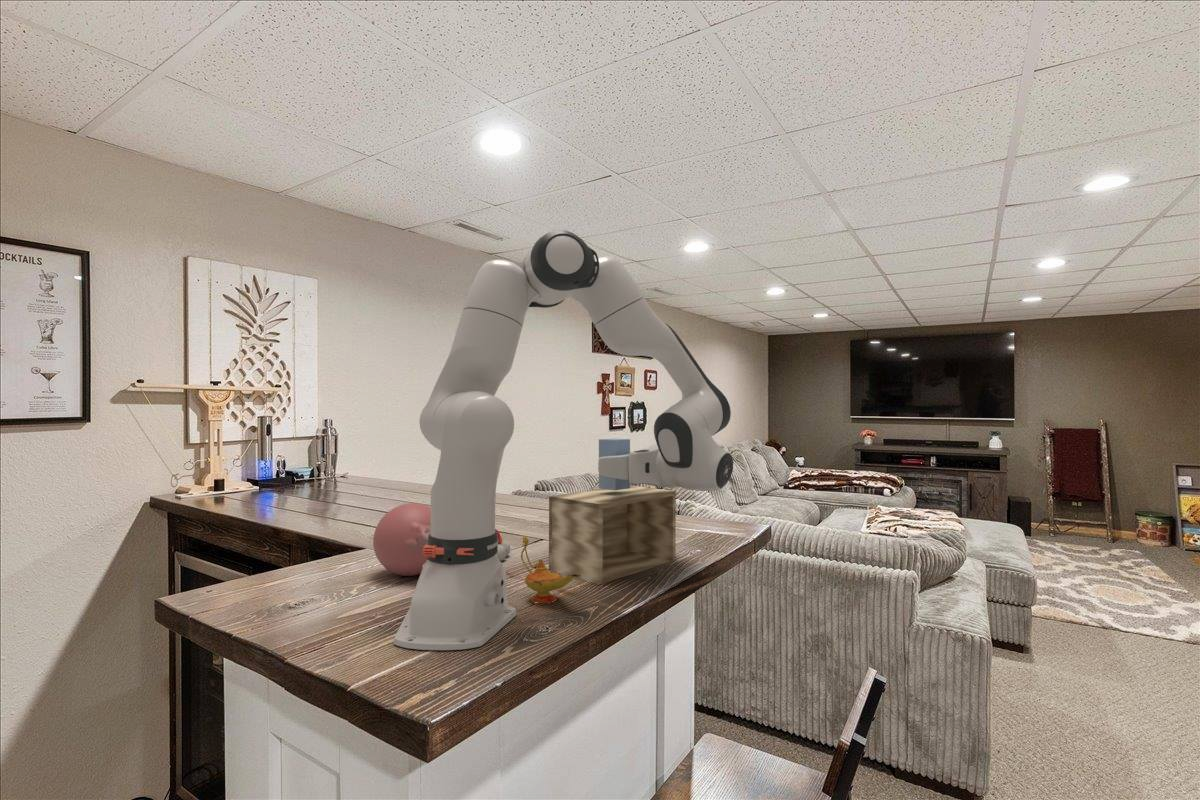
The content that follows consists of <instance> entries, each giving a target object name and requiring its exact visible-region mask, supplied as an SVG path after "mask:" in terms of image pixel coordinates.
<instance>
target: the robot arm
mask: <svg viewBox="0 0 1200 800" xmlns="http://www.w3.org/2000/svg"><path fill="white" fill-rule="evenodd" d="M533 244H534V245H533V247H531V249H530V251H528V253H527V254H526V255H525V257H524V259H523V260H522V261H520V262H512V261H509V260H506V259H492V260H488V261H486V262H485V263H483V265H482V266H480V268H479V270H478V272H477V273H476V275H475V277H474V280H473V281H472V283H471V286H470V288H469V290H468V292H467V296H466V298H465V301H464V304H463V307H462V311H461V314H460V317H459V322H458V324H457V328H456V330H455V335H454V338H453V341H452V344H451V348H450V351H449V354H448V356H447V358H446V360H445V363H444V365H443V367H442V369H441V371H440V374H439V376H438V378H437V380H436V382H435V385H434V386H433V389H432V392H431V393H430V396H429V398H428V401H427V402H426V404H425V406H424V407H423V408H422V410H421V412H420V414H419V415H420V416H419V429H420V431H421V434H422V436H423V437H424V439H426V441H428V443H429V444H430V445H431V446H433V447H434V448H436V449H437V450H440V455H439V463H438V467H437V471H436V476H435V480H434V483H433V484H432V487H431V489H430V507H431V532H430V534H429V536H428V542H427V545H425V546H424V547H423V548H424V549H423V557H424V558H426V559H427V561H426V563H425V564H424V565H423V568H422V571H421V574H419V577H418V580H417V583H416V584H415V585H416V586H415V587H414V591H413V594H412V597H411V601H410V607H409V609H407V610H408V611H407V612H406V614H405V616H404V618H403V620H402V623H400V626H399V628H398V629H397V632H396V633H395V635H394V637H393V644H394V645H396V646H398V647H401V648H405V649H410V650H411V649H413V650H420V651H421V650H422V651H457V650H459V651H460V650H468V649H474V648H479V647H482V646H483V645H484V644H486V643H487V642H488V641H489V640H491V638H493V637H494V636H495V635H496V634H497V633H499V631H501V629H503V628H504V627H505V626H506V625H507V624H508V623H510V621H512V620H513V618H515V617H516V616H517V609H516V608H515V607H513V606H511V605H508V589H507V588H508V587H507V585H508V583H507V568H506V566H505V565H504V564H503V563H502V561H499V559H498V557H497V555H496V553H497V552H498V538H497V532H496V531H495V529H496V493H497V492H496V491H497V483H498V478H499V473H500V468H501V464H502V459H503V456H504V453H505V452H504V451H505V448H506V446H508V443H510V441H511V439H512V437H513V434H514V430H515V419H514V414H513V412H512V410H511V408H510V406H508V404H507V403H506V402H505V401H503V400H502V399H501V398H499V397H497V396H496V394H497V391H498V390H499V387H500V385H502V382H503V381H504V379H505V377H506V376H507V375H508V374H509V372H510V371H511V369H512V367H513V363H514V359H515V356H516V353H517V348H518V345H519V341H520V336H521V333H522V331H523V327H524V326H523V325H524V322H525V318H526V317H525V316H526V315H527V311H528V309H529V308H539V309H540V308H541V309H542V308H544V309H545V308H552V307H555V306H558V305H560V304H562V303H563V302H564V301H565V300H566V299H568V298H569V297H570V298H571V299H574V301H577V302H578V303H579V304H581V306H582V307H584V309H585V311H587V313H588V316H589V317H590V320H591V321H592V323H593V325H594V327H595V329H596V331H597V332H598V335H599V337H600V338H601V340H602V342H603V343H604V344H605V345H606V346H607V347H608V348H609V349H610V351H613V353H614V352H615V353H617V354H619V355H622V356H629V357H639V356H642V357H648V358H649V357H650V358H652V359H655V360H656V361H658V362H659V363H660V364H661V365H662V366H663V368H664V369H665V370H666V371H667V373H668V375H669V376H670V377H671V378H672V380H673V381H674V383H675V385H676V386H677V387H678V389H679V390H680V393H681V397H682V398H681V399H680V400H679V401H677V402H676V403H675V404H672V405H671V406H670V407H669V408H668V409H666V410H665V411H663V412H662V413H661V414H660V415H658V416H657V418H656V419H655V420H654V425H653V435H654V440H655V443H653V444H651V445H649V446H648V447H645V448H642V449H639V450H634V451H630V453H629V454H626V455H617V456H605V457H600V458H599V457H598V463H597V464H598V467H597V470H598V475H599V474H600V475H602V476H606V477H611V478H616V479H622V480H629V483H630V485H631V484H632V485H647V486H652V487H661V488H669V489H670V488H671V489H674V488H682V489H684V490H688V491H695V492H697V491H698V492H714V491H720V490H722V489H723V488H724V487H725V486H726V485H727V484H728V483H729V481H730V479H731V478H732V473H733V471H734V459H733V455H732V454H731V453H730V452H729V451H726V450H725V449H723V448H722V447H721V446H720V445H719V444H718V443H717V442H716V441H715V439H714V438H713V436H714V435H716V434H718V433H719V432H720V431H722V430H724V429H725V428H726V427H727V426H728V424H729V422H730V420H731V415H732V411H731V410H732V409H731V406H730V402H728V399H727V397H726V396H725V394H724V393H723V392H722V391H721V390H720V389H719V388H718V387H717V386H716V385H715V384H714V383H713V382H712V381H711V380H710V378H709V377H707V375H706V374H705V371H703V369H702V368H701V366H700V365H699V363H698V362H697V360H696V359H695V358H694V356H693V354H692V353H691V351H690V350H689V349H688V348H687V346H686V344H685V343H684V342H683V340H682V339H681V337H680V336H679V335H678V334H677V332H676V331H675V330H674V329H673V328H672V327H671V326H670V325H669V324H668V323H666V322H664V321H663V320H662V319H660V317H658V315H657V314H656V313H655V312H654V310H653V309H652V308H651V306H650V305H649V303H648V301H647V300H646V297H645V296H644V294H643V293H642V291H641V289H640V287H639V286H638V285H637V283H636V281H635V280H634V279H633V277H632V275H631V274H630V272H629V271H628V270H627V268H626V267H625V266H624V265H623V264H622V263H621V261H620V260H619V259H617V258H616V257H614V256H609V255H604V256H598V253H597V252H596V251H595V250H594V249H593V248H591V247H590V246H588V245H587V244H586V242H585V241H584V240H583V239H582V238H581V237H579V236H578V235H577V234H575V233H573V232H571V231H568V230H565V229H557V230H552V231H549V232H547V233H546V234H543V235H542V236H541V237H540V238H538V240H536V242H535V243H533ZM594 256H595V257H594Z"/></svg>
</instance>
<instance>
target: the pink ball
mask: <svg viewBox="0 0 1200 800" xmlns="http://www.w3.org/2000/svg"><path fill="white" fill-rule="evenodd" d="M430 532H431V506H428V505H426V504H422V503H417V502H408V503H404V504H401V505H397V506H395V507H393V508H392V509H391V510H390V509H389V511H388V512H387V513H385V514H384V515H383V517H381V518H380V520H379V522H378V523H377V525H376V527H375V531H374V533H373V539H372V540H373V541H372V542H373V544H372V545H373V551H374V554H375V556H376V558H377V560H378V562H379V563H380V564H381V565H382V566H383V568H385V569H386V570H387V571H389V572H391V573H393V574H395V575H399V576H403V577H412V576H418V575H419V576H420V574H421V571H422V568H423V565H424V564H425V563H426V561H427V559H426V558H424V557H423V549H424V548H423V547H424V546H425V545H427V542H428V536H429V534H430Z"/></svg>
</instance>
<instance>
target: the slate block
mask: <svg viewBox="0 0 1200 800" xmlns="http://www.w3.org/2000/svg"><path fill="white" fill-rule="evenodd" d="M630 452H631V439H629V438H602V439H598V459H599V458H600V457H605V456H617V455H626V454H629V453H630ZM630 486H631V483H629V480H622V479H616V478H611V477H606V476H602V475H600V474H599V473H598V489H608V490H621V489H628V488H630Z"/></svg>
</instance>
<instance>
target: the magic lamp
mask: <svg viewBox="0 0 1200 800" xmlns="http://www.w3.org/2000/svg"><path fill="white" fill-rule="evenodd" d="M529 542H530V541H529V538H528V537H527V536H525V535H523V537H522V547H523V549H522V551H521V553H520V560H521V561H522V563H523V565H524V566H525V568H526V569H527V571H528V572H529V574H527V575H526V576H525V578H524V582H525V584H526V586H527V587H528V589H531V590H532V591H535V592H537V593H536V594H535V595H533V596H531V597H530V598H531V601H533V602H538V603H548V602H552V601H554V600H555V599H556V598H557V597H556V596H554V595H552V594H551V593H550V592H552V591H556V590H559V589H561V588H563V587H566V586H567V585H568V584H570V583H571V581H572V580H574V579H576V578H575V577H580V576H581V575H580V574H575V575H570V576H567V575H565V576H564V577H563V576H562V574H560V573H557V572H553V571H550V570H549V568H547V566H546V565H545V564H544V561H543V559H538V562H536V564H535V565H534V566H533V565H532V563H531V561H530V559H529V555H528V551H527V547H528V545H529ZM524 552H525V555H526V559H527V561H528V564H529V566H530V567H531V568H533V569H534V571H532V570H531V569H530V567H528V565H527V563H526V562H525V560H524V557H523V555H524ZM531 601H530V602H531ZM548 604H549V603H548Z"/></svg>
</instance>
